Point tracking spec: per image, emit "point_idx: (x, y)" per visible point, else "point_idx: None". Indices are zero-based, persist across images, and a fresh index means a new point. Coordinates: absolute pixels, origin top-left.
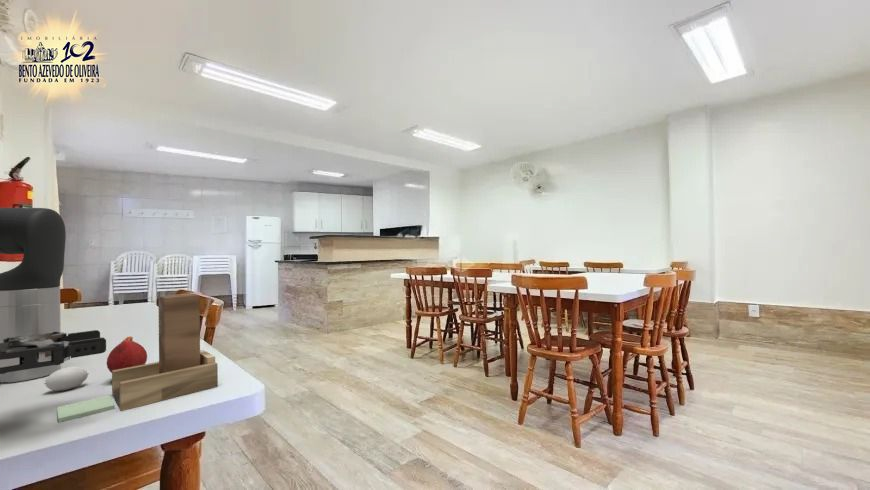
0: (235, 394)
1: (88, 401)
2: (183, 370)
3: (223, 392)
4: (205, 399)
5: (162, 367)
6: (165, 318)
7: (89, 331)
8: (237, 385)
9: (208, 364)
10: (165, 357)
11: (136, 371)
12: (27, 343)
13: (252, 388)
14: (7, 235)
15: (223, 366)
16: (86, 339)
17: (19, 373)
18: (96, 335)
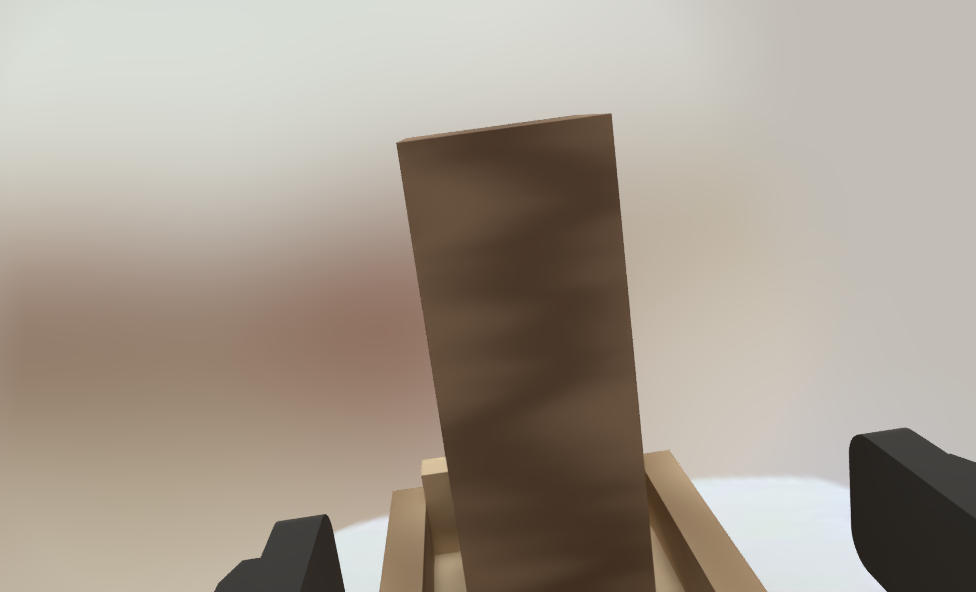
0: (837, 515)
1: None
2: (717, 521)
3: (782, 539)
4: (852, 581)
5: (568, 584)
6: (624, 256)
7: (311, 548)
8: (710, 509)
9: (664, 467)
10: (644, 500)
11: None
12: None
13: (787, 482)
14: None
15: (357, 534)
16: (934, 487)
17: None
18: (330, 566)
